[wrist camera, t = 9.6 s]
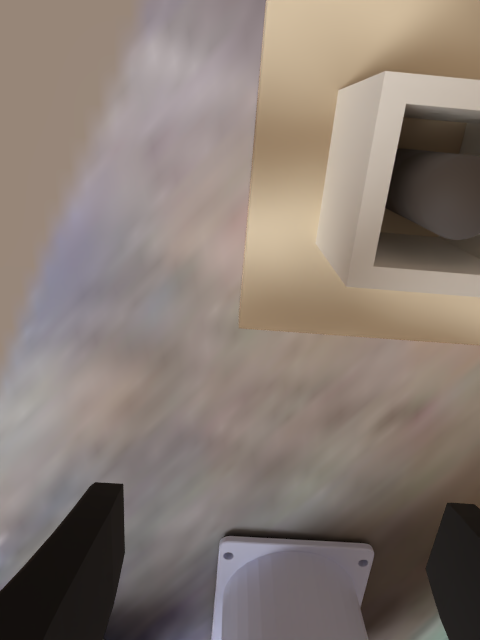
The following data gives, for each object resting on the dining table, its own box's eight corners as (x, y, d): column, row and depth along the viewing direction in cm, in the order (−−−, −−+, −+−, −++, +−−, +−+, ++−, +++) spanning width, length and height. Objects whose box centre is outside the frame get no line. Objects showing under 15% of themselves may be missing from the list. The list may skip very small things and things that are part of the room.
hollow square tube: (450, 254, 17) (531, 301, 12) (315, 243, 16) (346, 286, 12) (489, 105, 15) (604, 92, 10) (338, 90, 15) (385, 70, 10)
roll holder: (473, 333, 19) (574, 418, 14) (238, 316, 19) (239, 397, 13) (576, -5, 15) (794, -92, 9) (268, -36, 14) (290, -148, 9)
